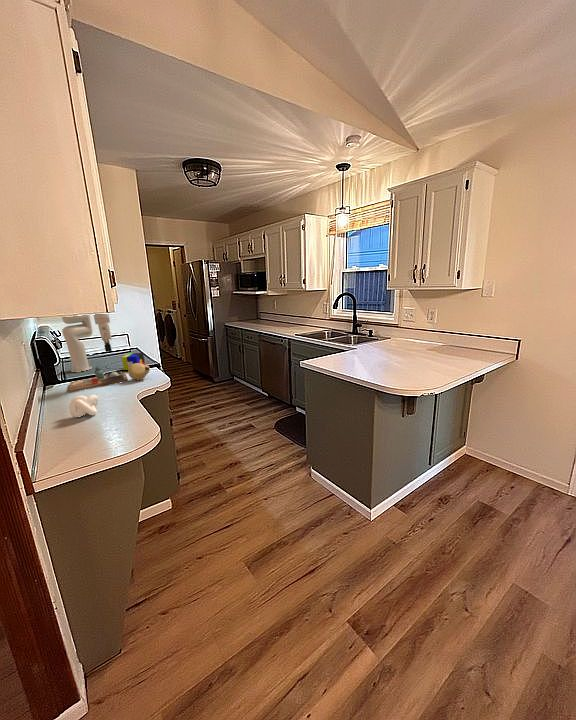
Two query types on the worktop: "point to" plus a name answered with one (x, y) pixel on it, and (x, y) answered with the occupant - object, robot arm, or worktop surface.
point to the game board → (89, 384)
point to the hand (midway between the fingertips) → (108, 351)
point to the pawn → (99, 372)
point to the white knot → (83, 405)
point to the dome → (113, 374)
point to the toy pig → (138, 371)
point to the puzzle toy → (132, 359)
